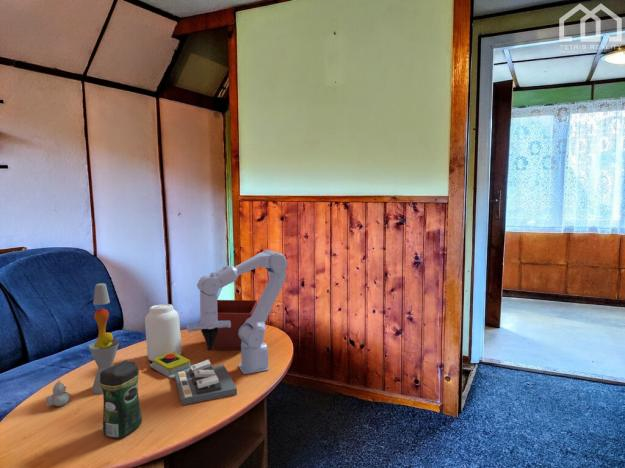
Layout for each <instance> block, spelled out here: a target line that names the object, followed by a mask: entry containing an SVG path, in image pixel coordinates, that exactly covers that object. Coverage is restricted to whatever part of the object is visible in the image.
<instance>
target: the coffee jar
mask: <svg viewBox="0 0 625 468" xmlns="http://www.w3.org/2000/svg"><path fill="white" fill-rule="evenodd" d="M138 368H139V367H138V364H137V363H136V362H135V361H133V360H127V359H123V360H122V361H120V362H118V363H115V364H113V366H111V367H109V368H107V369H105V370H103V371H102V372H101V373H100V386H101V388H102V390H103V394H102V396H103V399H102V400H103V415H102V429H103V430H102V431H103V432H102V433H103V434H104V436H106V437H107V438H111V439H119V438H121V439H123V438H124V437H127V436H128V435H129V434H131V433H133V432H134V431H135V430H136V429H138V428H139V427H141V425H142V423H143V422H142V421H143V418H142V410H141V405H140V399H139V398H140V397H139V388H138V385H139V384H138V383H139V376H140V373H139V369H138Z"/></svg>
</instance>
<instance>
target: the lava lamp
mask: <svg viewBox="0 0 625 468" xmlns="http://www.w3.org/2000/svg"><path fill="white" fill-rule="evenodd" d="M93 295H94V296H93V301H92V302H93V303H92V304H93V305H94V306H101V305H107V304H110V303H111V301H110V296H109V292H108V288H107V284H106V283H97V284H95V285H94V294H93ZM109 316H110V313H109V311H108V310H107V309H105V308H98V309H97V310H95V312H94V314H93V317H94V319H95V321H96V322H95V323H96V324H97V326H98V336H97V339H96V341H94V342H92V343H89V345H88V349H89V352H90V353H91V355H92V358H93V360H94V362H95V363H96V366H97V371H96V374H95V378H94V381H93V385H92V388H91V392H92V393H93V394H97V395H103V390H102V388H101V386H100V373H101V372H102V371H103V370H105V369H107V368H109V367H111V366H113V365H114V361H115V357H116V354H117V351H118V348H119V345H120V340H118V339H115V338H114V336H113V334H112V333H111V332H110V331H109V332H106V329H107V327H106V326H107V322H108V319H109Z"/></svg>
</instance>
